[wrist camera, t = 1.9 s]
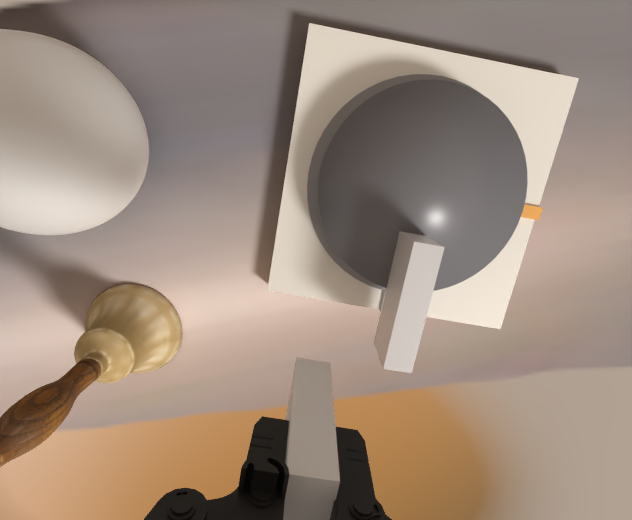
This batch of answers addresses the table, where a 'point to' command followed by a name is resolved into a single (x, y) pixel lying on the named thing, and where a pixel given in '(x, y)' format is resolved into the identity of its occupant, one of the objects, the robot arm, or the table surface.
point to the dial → (420, 198)
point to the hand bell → (97, 361)
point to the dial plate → (349, 93)
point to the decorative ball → (64, 138)
